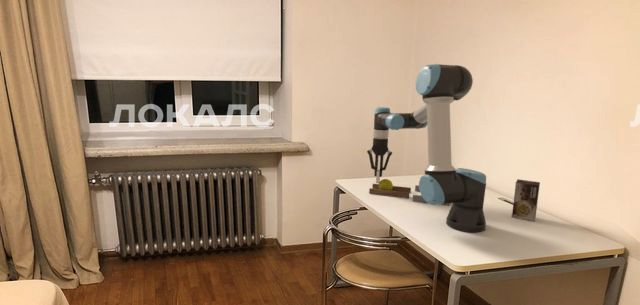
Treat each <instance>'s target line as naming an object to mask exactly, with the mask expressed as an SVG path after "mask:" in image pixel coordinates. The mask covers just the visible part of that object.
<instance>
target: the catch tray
mask: <svg viewBox="0 0 640 305" xmlns="http://www.w3.org/2000/svg"><path fill="white" fill-rule="evenodd" d="M414 192H419V193H420V190H419V184H418V185H417V184H415V186H414ZM412 202H415V203H416V202H417V203H423V204H424V203H426V204H428V203H427V202H426V201H425V200H424V198H423V197H422V196H421V194H412ZM442 205H443V206H450V203H449V204H442ZM442 205H441V206H442Z"/></svg>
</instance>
